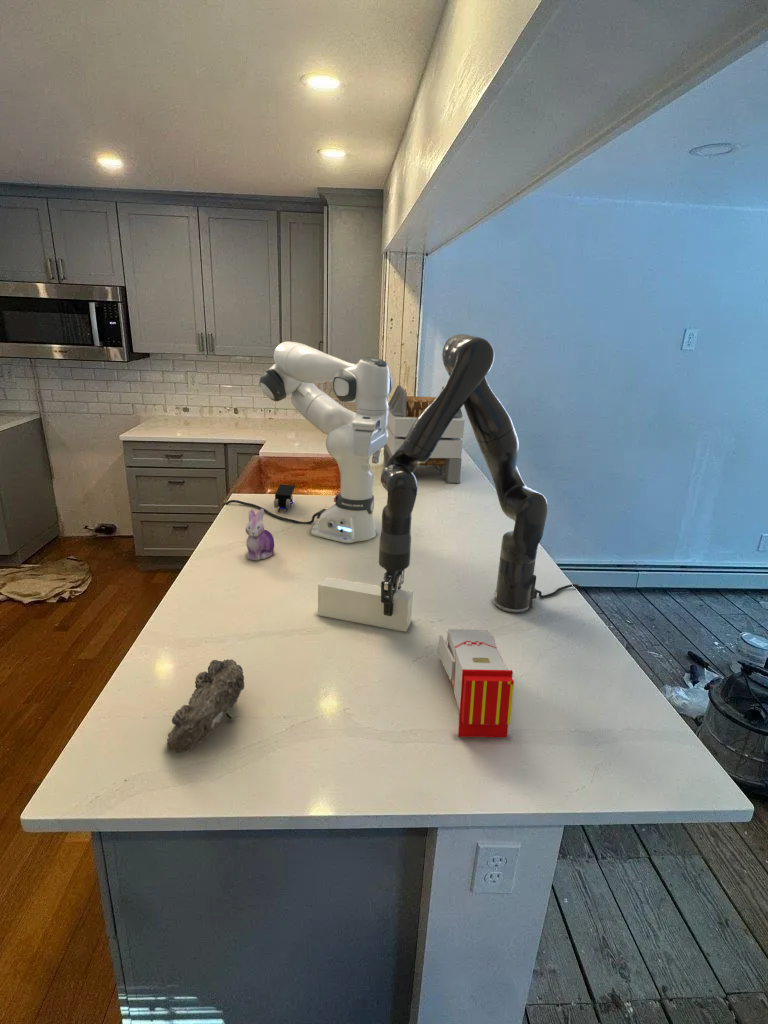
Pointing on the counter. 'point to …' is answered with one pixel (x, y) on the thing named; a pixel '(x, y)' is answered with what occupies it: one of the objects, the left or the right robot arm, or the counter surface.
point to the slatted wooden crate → (401, 421)
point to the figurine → (258, 537)
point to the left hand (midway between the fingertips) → (370, 466)
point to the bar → (363, 604)
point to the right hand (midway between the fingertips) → (391, 608)
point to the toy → (478, 682)
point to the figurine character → (284, 497)
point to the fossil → (206, 705)
